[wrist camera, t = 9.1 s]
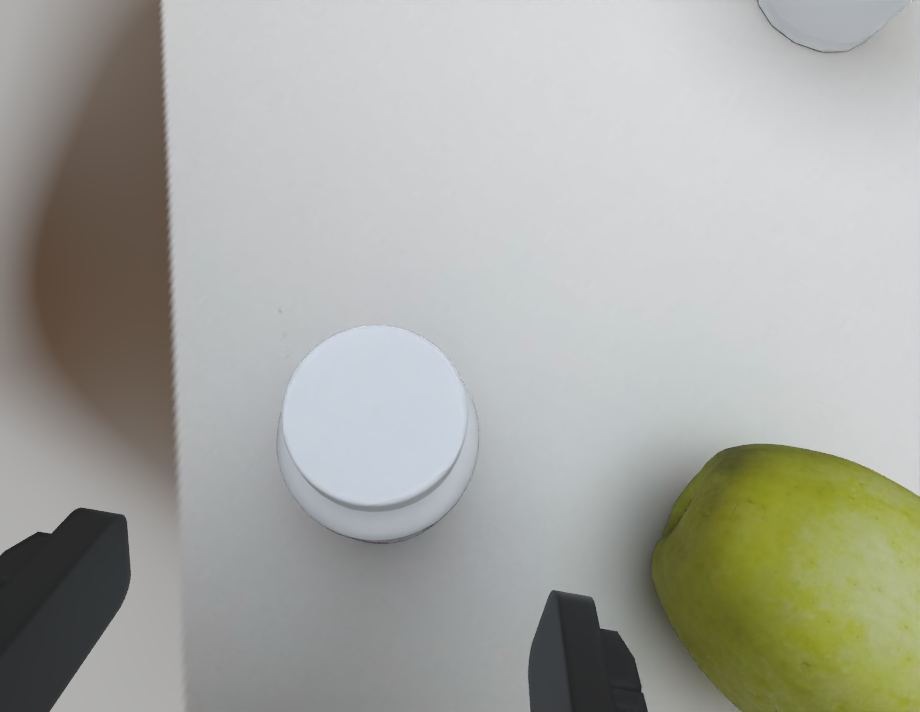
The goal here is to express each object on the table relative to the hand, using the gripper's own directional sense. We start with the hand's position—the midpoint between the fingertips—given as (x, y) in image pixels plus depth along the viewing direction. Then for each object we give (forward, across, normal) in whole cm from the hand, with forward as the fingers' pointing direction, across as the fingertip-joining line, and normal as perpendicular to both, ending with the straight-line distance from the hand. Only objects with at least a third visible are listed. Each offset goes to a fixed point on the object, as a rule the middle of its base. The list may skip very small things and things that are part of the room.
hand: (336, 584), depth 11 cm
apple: (+8, -13, +6) cm, 16 cm away
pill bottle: (+9, 0, +4) cm, 10 cm away
